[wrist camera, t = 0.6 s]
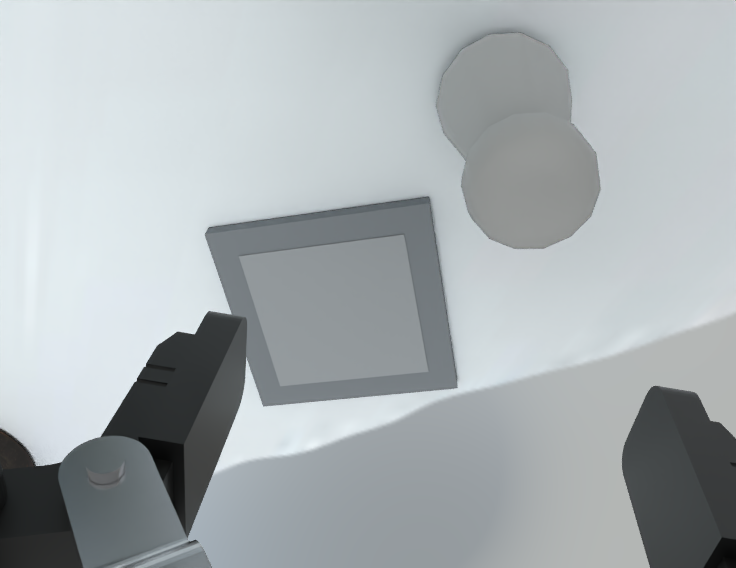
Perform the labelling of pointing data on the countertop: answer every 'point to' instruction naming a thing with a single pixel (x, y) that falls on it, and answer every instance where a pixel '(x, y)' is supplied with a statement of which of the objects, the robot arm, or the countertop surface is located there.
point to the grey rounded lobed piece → (518, 141)
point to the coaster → (339, 302)
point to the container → (13, 453)
